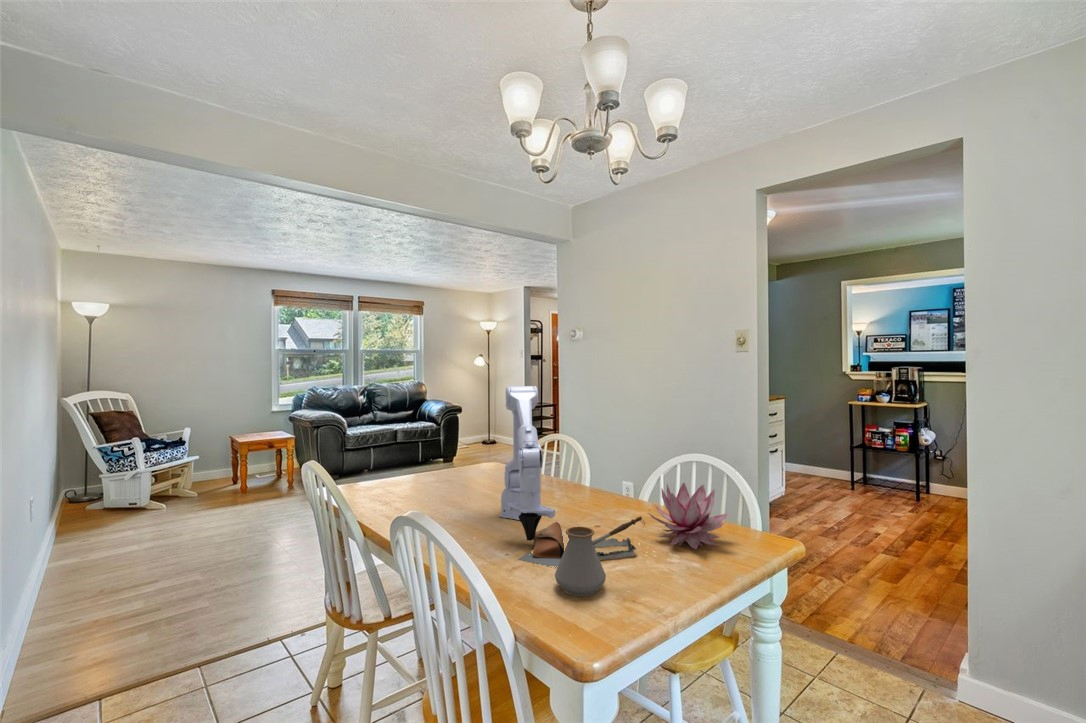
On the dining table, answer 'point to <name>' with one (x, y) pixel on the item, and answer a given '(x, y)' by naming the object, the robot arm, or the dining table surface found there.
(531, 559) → the rubber mat
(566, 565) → the coffee pot
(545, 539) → the sunglasses case
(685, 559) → the dining table surface
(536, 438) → the robot arm
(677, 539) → the decorative flower
